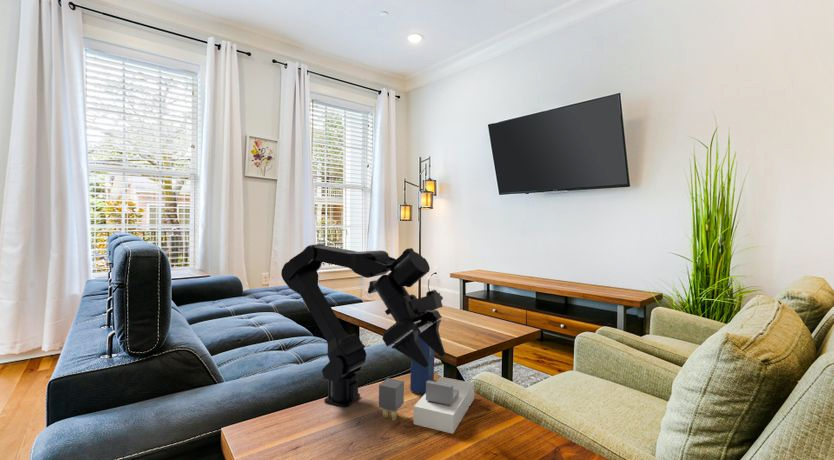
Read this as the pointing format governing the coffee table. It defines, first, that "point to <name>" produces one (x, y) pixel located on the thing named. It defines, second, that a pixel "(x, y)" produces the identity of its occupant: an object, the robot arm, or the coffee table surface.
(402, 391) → the plug
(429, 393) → the grey block
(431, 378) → the electronic device
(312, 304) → the robot arm
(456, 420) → the power strip
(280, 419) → the coffee table surface
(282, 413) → the coffee table surface
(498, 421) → the coffee table surface
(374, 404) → the coffee table surface
